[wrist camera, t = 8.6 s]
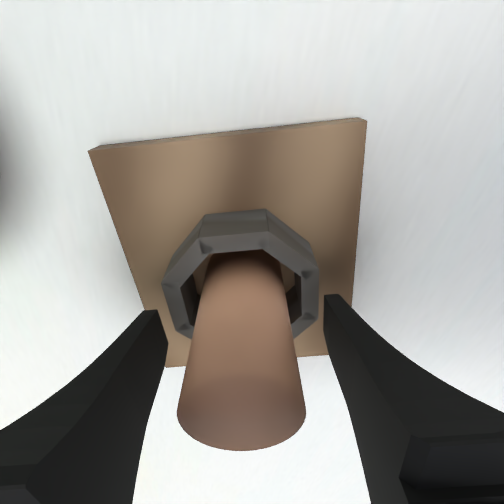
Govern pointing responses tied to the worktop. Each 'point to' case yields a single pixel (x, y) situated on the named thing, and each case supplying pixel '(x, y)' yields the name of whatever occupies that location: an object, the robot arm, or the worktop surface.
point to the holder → (238, 216)
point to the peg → (242, 358)
